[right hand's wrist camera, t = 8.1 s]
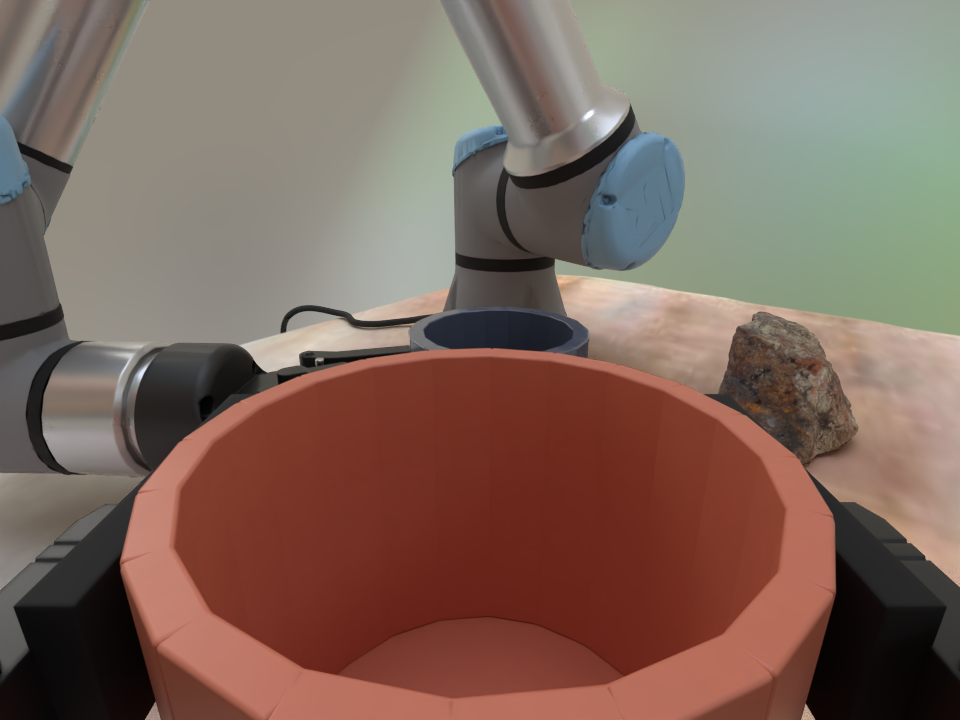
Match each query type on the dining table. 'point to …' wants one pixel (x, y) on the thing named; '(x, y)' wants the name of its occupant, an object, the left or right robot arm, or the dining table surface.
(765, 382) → the rock
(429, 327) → the beaker
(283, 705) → the pot
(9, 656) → the right robot arm
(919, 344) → the dining table surface
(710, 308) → the dining table surface
